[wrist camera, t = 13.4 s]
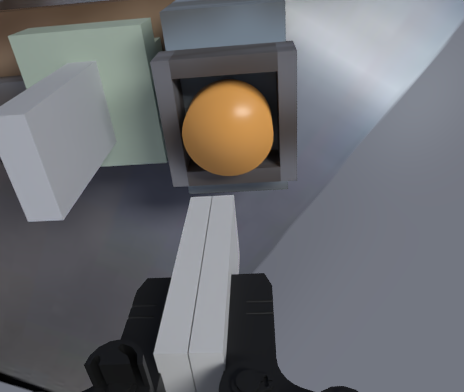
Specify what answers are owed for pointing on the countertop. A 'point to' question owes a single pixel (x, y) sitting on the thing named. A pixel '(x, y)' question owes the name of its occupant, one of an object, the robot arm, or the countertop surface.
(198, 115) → the button
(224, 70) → the rail bench
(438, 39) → the countertop surface
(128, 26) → the block
